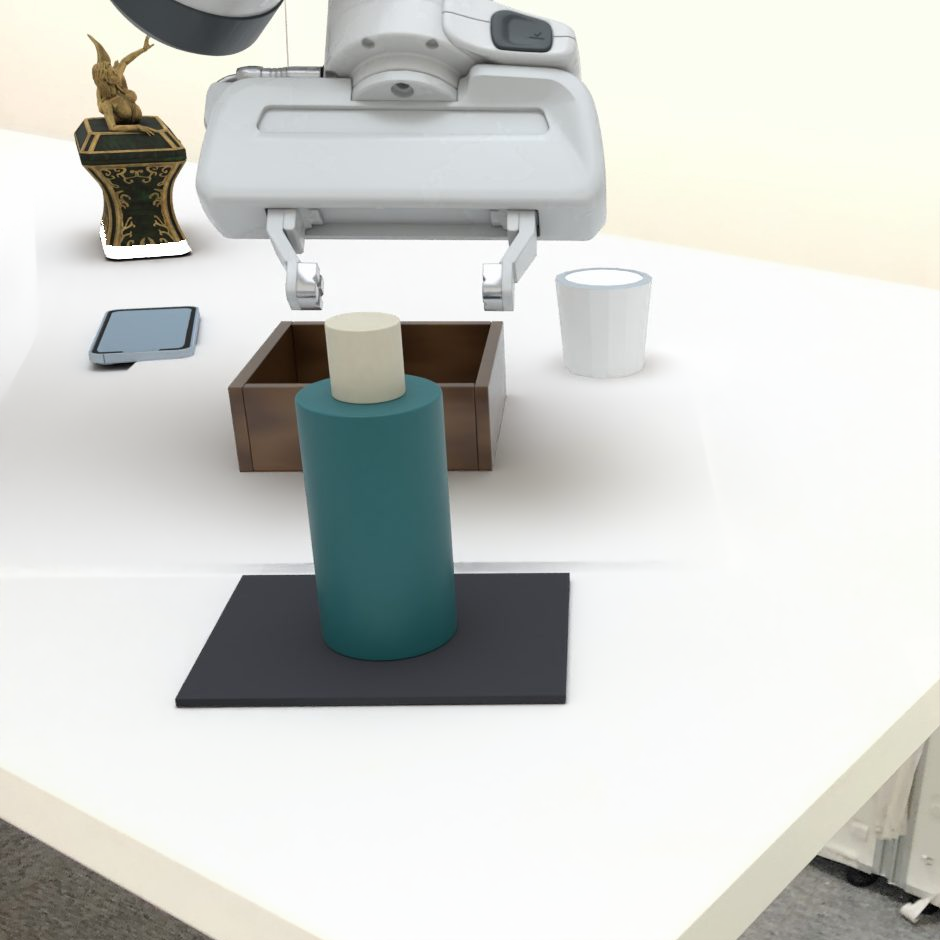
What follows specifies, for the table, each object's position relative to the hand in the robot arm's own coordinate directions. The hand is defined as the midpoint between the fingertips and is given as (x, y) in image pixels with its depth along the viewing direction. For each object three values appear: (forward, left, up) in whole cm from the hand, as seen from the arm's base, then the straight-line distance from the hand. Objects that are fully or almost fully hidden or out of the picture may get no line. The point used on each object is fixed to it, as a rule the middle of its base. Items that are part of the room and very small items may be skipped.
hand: (401, 305), depth 65 cm
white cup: (+10, +29, -12) cm, 33 cm away
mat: (0, -12, -12) cm, 17 cm away
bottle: (0, -12, -12) cm, 17 cm away
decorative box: (-37, +76, -12) cm, 85 cm away
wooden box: (-4, +15, -12) cm, 20 cm away
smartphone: (-25, +38, -12) cm, 47 cm away
